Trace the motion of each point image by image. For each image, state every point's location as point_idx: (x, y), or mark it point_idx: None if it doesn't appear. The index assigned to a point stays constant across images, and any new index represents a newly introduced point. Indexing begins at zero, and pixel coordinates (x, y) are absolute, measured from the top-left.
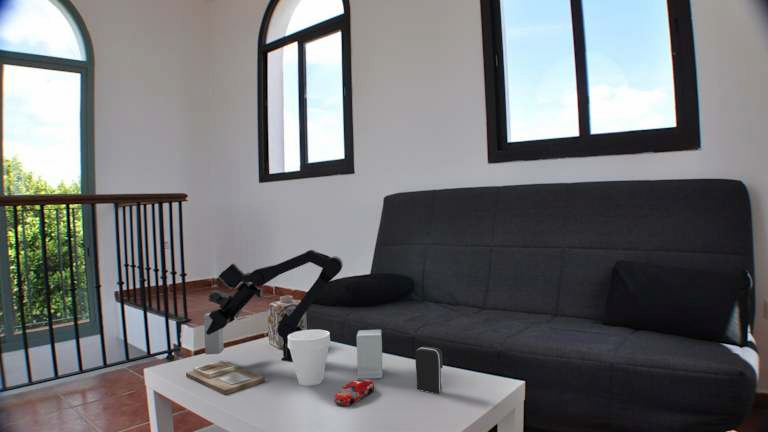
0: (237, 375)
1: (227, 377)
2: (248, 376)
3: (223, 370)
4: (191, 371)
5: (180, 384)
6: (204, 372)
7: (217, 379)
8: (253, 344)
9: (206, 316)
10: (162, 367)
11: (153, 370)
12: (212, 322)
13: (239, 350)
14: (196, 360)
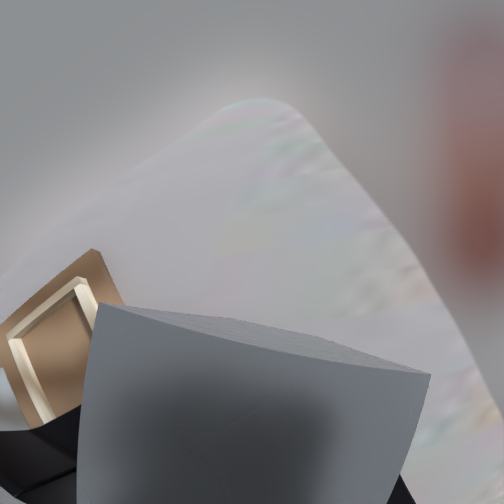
0: (12, 426)
1: (4, 395)
2: None
3: (31, 393)
4: (96, 269)
5: (39, 247)
6: (20, 325)
7: (1, 365)
8: (484, 473)
9: (97, 358)
10: (273, 129)
11: (242, 108)
12: (62, 422)
13: (429, 444)
14: (337, 259)
